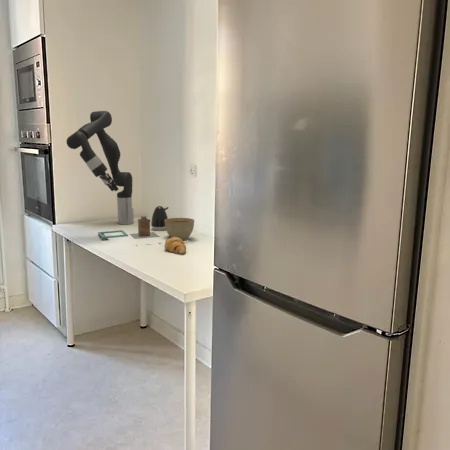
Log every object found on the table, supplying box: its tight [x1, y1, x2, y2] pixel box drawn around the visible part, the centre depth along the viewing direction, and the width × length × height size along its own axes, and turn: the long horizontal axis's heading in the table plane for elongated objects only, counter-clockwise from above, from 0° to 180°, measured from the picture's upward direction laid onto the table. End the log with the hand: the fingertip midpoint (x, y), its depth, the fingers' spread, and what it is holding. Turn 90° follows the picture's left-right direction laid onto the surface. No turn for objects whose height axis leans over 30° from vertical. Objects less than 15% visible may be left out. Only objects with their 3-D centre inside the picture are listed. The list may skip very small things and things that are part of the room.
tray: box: [97, 229, 129, 241], centre depth 250 cm, size 14×14×2 cm
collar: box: [137, 217, 151, 237], centre depth 248 cm, size 5×6×9 cm
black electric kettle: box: [150, 205, 169, 232], centre depth 265 cm, size 10×10×15 cm
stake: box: [128, 215, 161, 240], centre depth 248 cm, size 14×14×12 cm
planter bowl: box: [165, 217, 195, 242], centre depth 243 cm, size 16×16×11 cm
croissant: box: [164, 237, 187, 255], centre depth 220 cm, size 21×10×8 cm, turn 29°
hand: (115, 190), depth 243 cm, fingers open, 8 cm apart
